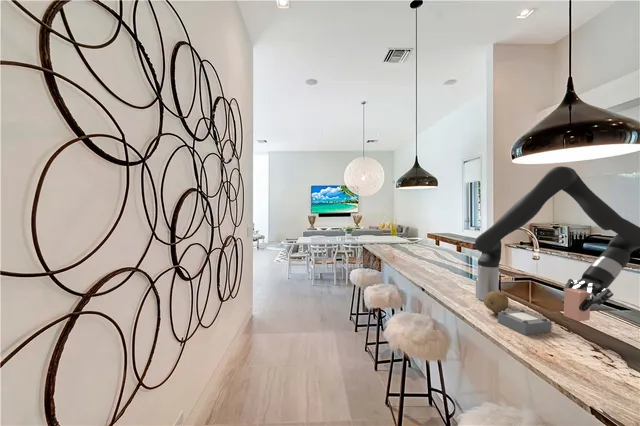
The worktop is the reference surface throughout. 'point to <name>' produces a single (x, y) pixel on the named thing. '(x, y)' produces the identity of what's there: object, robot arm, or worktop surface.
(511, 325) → the base brick
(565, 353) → the worktop surface
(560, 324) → the worktop surface
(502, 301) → the brown round lump
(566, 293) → the coral brick
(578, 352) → the worktop surface
